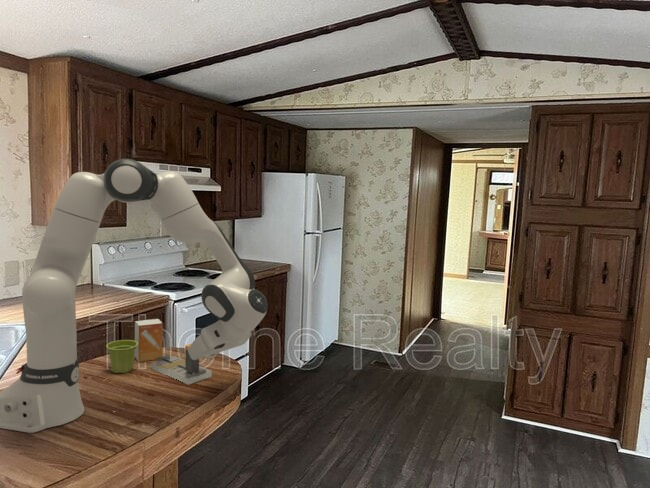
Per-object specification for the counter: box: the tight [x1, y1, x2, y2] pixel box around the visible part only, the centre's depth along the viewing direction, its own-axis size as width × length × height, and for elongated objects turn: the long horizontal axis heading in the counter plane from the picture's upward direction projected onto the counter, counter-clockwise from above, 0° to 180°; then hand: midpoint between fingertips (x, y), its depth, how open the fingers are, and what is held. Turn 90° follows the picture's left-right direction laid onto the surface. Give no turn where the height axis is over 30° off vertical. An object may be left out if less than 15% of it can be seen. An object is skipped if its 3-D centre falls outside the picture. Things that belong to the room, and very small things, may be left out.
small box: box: [134, 318, 164, 363], centre depth 165 cm, size 8×6×13 cm
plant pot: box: [106, 339, 138, 374], centre depth 154 cm, size 9×9×9 cm
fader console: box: [150, 354, 213, 386], centre depth 154 cm, size 21×9×3 cm, turn 53°
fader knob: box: [184, 343, 200, 373], centre depth 150 cm, size 3×3×8 cm
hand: (209, 356), depth 145 cm, fingers closed
